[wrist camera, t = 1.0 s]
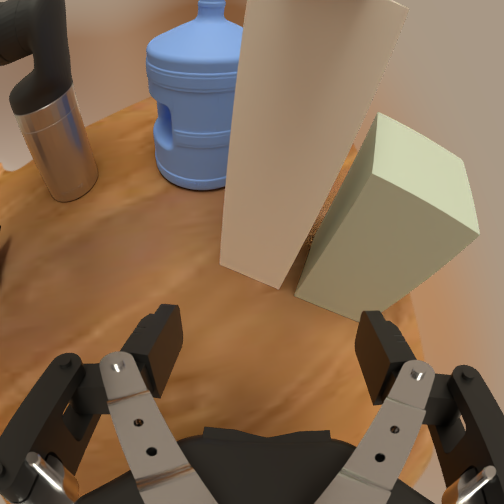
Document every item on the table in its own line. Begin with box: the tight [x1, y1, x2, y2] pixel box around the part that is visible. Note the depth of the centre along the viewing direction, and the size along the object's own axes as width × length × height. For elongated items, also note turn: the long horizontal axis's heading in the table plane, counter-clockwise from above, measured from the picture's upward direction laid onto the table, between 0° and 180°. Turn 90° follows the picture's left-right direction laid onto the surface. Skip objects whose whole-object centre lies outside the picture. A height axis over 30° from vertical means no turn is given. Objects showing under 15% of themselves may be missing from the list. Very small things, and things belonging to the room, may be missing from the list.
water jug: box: [146, 0, 243, 190], centre depth 33 cm, size 16×16×28 cm
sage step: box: [294, 112, 480, 322], centre depth 28 cm, size 10×10×21 cm
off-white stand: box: [220, 0, 409, 289], centre depth 25 cm, size 10×8×32 cm
